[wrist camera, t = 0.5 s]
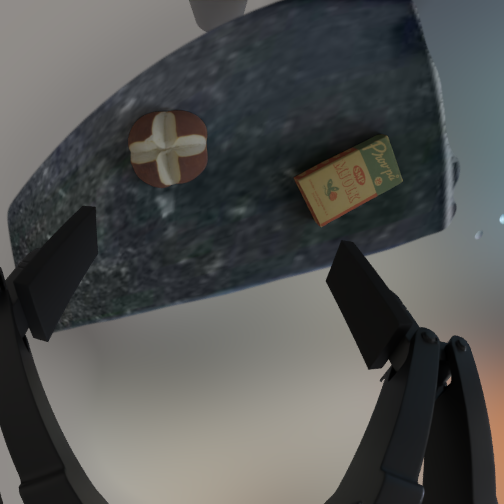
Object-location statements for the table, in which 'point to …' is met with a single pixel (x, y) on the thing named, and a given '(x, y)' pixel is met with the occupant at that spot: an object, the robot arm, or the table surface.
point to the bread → (168, 147)
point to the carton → (349, 179)
